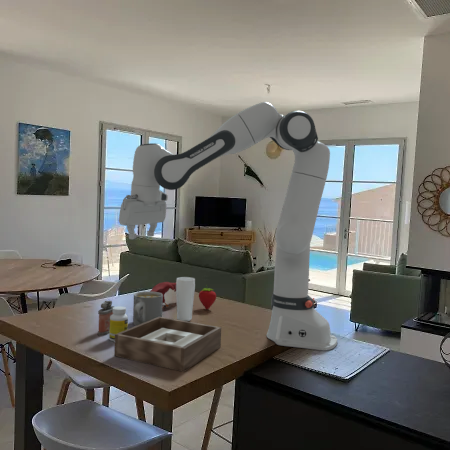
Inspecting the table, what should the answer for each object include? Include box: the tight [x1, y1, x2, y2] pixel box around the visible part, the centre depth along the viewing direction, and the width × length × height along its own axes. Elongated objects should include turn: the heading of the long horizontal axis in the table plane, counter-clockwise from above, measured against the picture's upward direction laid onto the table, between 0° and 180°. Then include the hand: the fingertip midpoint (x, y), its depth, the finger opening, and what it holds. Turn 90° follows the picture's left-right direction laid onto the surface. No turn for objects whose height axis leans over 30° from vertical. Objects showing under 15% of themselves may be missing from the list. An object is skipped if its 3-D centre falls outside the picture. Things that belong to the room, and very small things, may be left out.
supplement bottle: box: [108, 306, 129, 343], centre depth 139 cm, size 5×5×10 cm
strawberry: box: [198, 284, 217, 310], centre depth 180 cm, size 6×8×10 cm
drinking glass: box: [175, 276, 196, 322], centre depth 163 cm, size 7×7×15 cm
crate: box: [113, 316, 222, 372], centre depth 130 cm, size 22×22×6 cm
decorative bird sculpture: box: [149, 281, 176, 310], centre depth 179 cm, size 28×9×15 cm
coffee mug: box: [132, 291, 164, 326], centre depth 156 cm, size 13×10×10 cm
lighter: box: [97, 300, 115, 336], centre depth 146 cm, size 8×3×10 cm, turn 168°
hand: (141, 237), depth 145 cm, fingers open, 8 cm apart
